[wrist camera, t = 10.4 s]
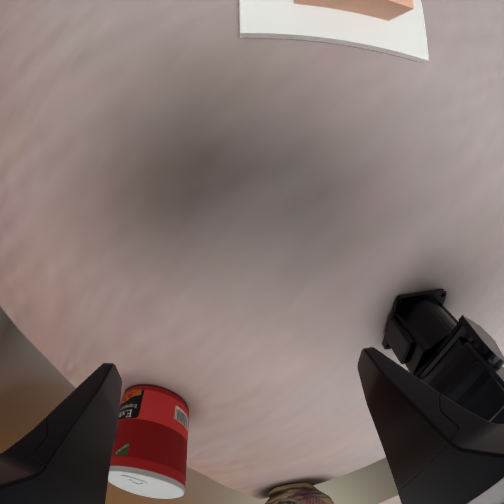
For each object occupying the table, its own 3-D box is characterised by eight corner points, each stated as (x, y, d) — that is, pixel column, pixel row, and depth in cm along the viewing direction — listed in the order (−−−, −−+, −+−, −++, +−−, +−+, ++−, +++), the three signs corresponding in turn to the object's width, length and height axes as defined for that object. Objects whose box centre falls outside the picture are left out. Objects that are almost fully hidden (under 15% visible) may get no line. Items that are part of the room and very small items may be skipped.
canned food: (131, 373, 27) (108, 464, 17) (200, 399, 29) (197, 488, 19) (117, 406, 29) (99, 482, 19) (176, 427, 31) (171, 503, 22)
